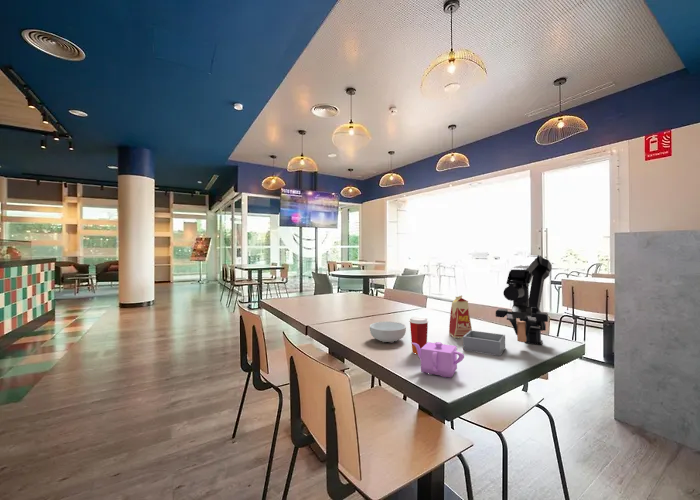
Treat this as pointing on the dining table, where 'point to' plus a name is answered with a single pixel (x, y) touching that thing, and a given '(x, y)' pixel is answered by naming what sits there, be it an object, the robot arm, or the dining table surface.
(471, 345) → the box
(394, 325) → the cereal bowl
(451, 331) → the milk carton
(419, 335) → the paper cup
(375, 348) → the dining table surface
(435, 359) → the teapot
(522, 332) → the peg
